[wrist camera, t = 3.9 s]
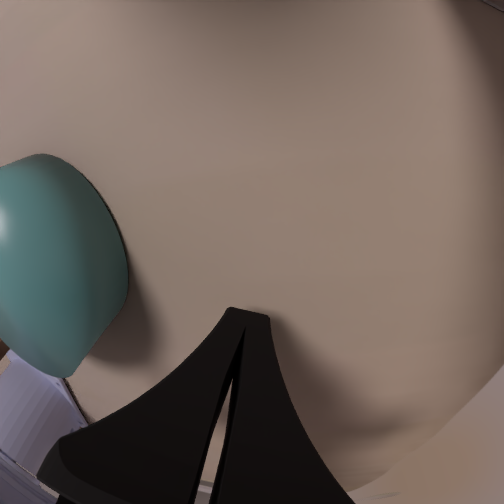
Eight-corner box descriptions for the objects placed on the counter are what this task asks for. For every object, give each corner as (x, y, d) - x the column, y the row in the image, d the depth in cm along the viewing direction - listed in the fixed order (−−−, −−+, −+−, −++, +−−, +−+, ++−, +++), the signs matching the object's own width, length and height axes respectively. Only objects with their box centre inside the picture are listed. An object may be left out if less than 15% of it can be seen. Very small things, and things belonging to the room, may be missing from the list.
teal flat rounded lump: (146, 339, 13) (108, 403, 9) (32, 303, 14) (-6, 342, 10) (110, 143, 8) (21, 175, 5) (-8, 163, 10) (-64, 191, 6)
